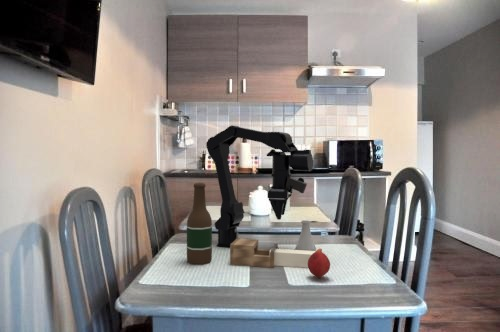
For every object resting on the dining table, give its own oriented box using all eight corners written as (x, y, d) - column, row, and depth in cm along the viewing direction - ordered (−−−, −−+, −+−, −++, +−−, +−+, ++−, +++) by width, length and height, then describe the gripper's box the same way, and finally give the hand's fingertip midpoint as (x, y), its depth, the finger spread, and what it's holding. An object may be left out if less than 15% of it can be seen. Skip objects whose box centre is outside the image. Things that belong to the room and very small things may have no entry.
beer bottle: (216, 259, 112) (217, 182, 111) (203, 266, 105) (203, 184, 104) (195, 256, 115) (195, 181, 114) (181, 263, 108) (181, 183, 107)
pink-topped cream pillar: (269, 265, 106) (269, 251, 106) (271, 261, 110) (271, 248, 110) (317, 268, 103) (317, 254, 103) (317, 264, 107) (317, 251, 107)
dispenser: (230, 264, 107) (230, 244, 107) (236, 257, 115) (236, 238, 114) (273, 267, 104) (273, 247, 104) (277, 259, 112) (277, 240, 112)
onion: (316, 283, 92) (316, 252, 91) (303, 276, 97) (303, 247, 96) (334, 279, 94) (334, 249, 94) (320, 273, 99) (320, 244, 99)
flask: (315, 247, 127) (315, 219, 127) (317, 253, 120) (317, 223, 119) (294, 246, 128) (295, 218, 127) (295, 252, 121) (295, 222, 120)
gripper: (304, 171, 108) (303, 223, 108) (307, 169, 126) (306, 213, 127) (267, 171, 110) (267, 221, 111) (275, 169, 128) (275, 212, 129)
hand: (280, 217), depth 119 cm, fingers open, 9 cm apart
